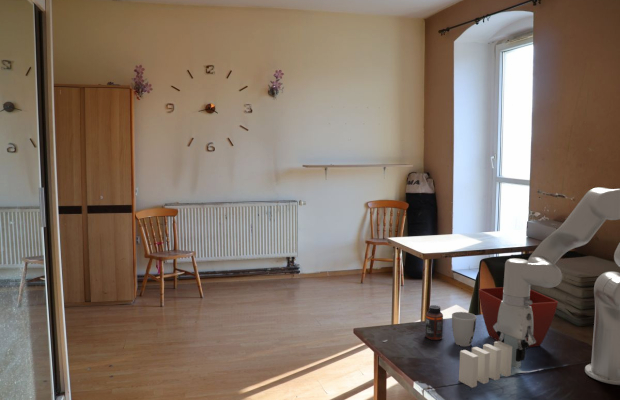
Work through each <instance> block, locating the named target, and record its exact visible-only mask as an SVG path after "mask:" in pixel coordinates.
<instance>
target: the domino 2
mask: <svg viewBox="0 0 620 400" xmlns="http://www.w3.org/2000/svg"><path fill="white" fill-rule="evenodd" d="M471 353H473V354H475V355H477V356H478V374H477V382H478V383H481V384H483V385H485V384H488V383H489V380H490V377H489V364H490V352H487V351H485V350H483V348H480V347H478V346H474V347H471Z"/></svg>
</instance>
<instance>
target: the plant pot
mask: <svg viewBox="0 0 620 400" xmlns="http://www.w3.org/2000/svg"><path fill="white" fill-rule="evenodd" d="M503 288H504V286H503V287H502V286H501V287H499V286H498V287H486V288H485V287H484V288H479V289H478V294H479V304H480V308H481V313H482V317H483V320H484V324H485V328H486V331H487V334H488V337H490V338H492V339H493V340H495V341H500V340H499V336H498V335H497V332H496V331H495V329H494V328H493V326H494V325H495V324H496V323H497V320H498V312H499V308H500V304H501V301H503ZM530 300H531V301H532V305H529V306H531V307H532V312H533V336H534V338H535V340H536V343H534V344H532V345H530V346H529V347H528V348H532V347H540V346H541V345H542V343H543V341H544V339H545V338H546V336H547V334H548V331H549V330H550V327H551V325H552V322H553V320H554V317H555V315H556V311H557V308H558V303H559V301H558V300H555V299H554V298H551V297H549V296H546V295H544V294H542V293H540V292H537V291H535V290H533V289H531V288H530ZM526 340H527V341H528V338H527V337H526ZM500 342H501V341H500ZM522 344H523V342H522Z"/></svg>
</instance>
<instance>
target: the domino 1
mask: <svg viewBox="0 0 620 400" xmlns="http://www.w3.org/2000/svg"><path fill="white" fill-rule="evenodd" d="M458 366H459V367H458V368H459V369H458V370H459V373H458V382H461V383H462V384H464V385H467V386H468V387H470V388H476V387H478V381H477V374H478V356H477V355H475V354H473V353H472V351H469V350H466V349H463V350H462V349H461V350H460V351H459V365H458Z"/></svg>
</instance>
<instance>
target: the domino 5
mask: <svg viewBox="0 0 620 400" xmlns="http://www.w3.org/2000/svg"><path fill="white" fill-rule="evenodd" d="M504 343H505V344H507V345H510V346H512V361H511V367H512V368H515V369H517V368H521V367H522V365H521V364H522V361H519V362H517V361H516V349H518V343H517V339H516V338H514V337H511V336H509V335H506V334H505V336H504Z"/></svg>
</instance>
